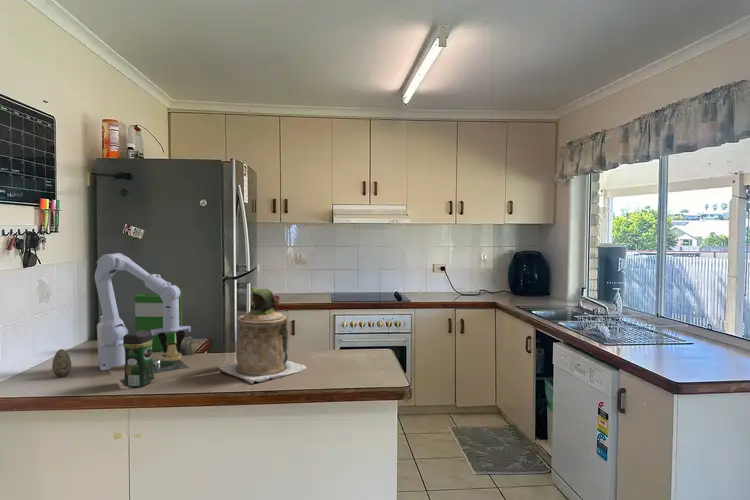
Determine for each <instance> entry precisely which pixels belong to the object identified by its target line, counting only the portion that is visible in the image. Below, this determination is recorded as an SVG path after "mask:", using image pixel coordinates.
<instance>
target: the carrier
mask: <svg viewBox="0 0 750 500" xmlns="http://www.w3.org/2000/svg"><path fill="white" fill-rule="evenodd" d="M152 360H153V370H154V374H158V373H159V374H160V373H166V372H170V371H177V370H184V369H189V368H190V367H189V366H188V365H187V364H186V363H184V362H183V361H181V359H179V360H174V361H163V360H162V359H157V358H156V357H152Z"/></svg>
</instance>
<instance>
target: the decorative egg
mask: <svg viewBox="0 0 750 500" xmlns="http://www.w3.org/2000/svg"><path fill="white" fill-rule="evenodd" d="M51 369H52V372H53V374H54V375H55V376H57V377H59V378H60V377H61V378H62V377H65V376H67V375H69V373H70V372H71V370H72V360H71V358H70V355H69V353H68V352H67V351H66V350H65V349H63V348H61V349H58V351H56V353H55V355H54V357H53V359H52V367H51Z"/></svg>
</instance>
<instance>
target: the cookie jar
mask: <svg viewBox="0 0 750 500" xmlns="http://www.w3.org/2000/svg"><path fill="white" fill-rule="evenodd" d="M251 295H252V297H251V300H252V302H253V305H254V306H253V308H252V309H251V310H249V312H247V313H246V314H243V315H239V316H238V317H237V318H236V322H237V325H238V330H237V338H236V344H235V345H236V349H235V350H236V351H235V352H236V353H235V357H236V361H237V362H233V363H232V362H231V363H225V364H219V365H218V367H217V368H218V369H219V370H220V371H219V373H221V372H223V373H226V374H228V375H231V376H233V377H236V378H239V379H242V380H244V381H246V382H248V383H250V384H254V382H257V383H260V382H261V383H262V382H265V381H267V380H271V379H272V380H273V379H278V378H282V377H286V376H289V375H294V374H297V373H298V374H299V373H302V372H305V371H306V369H307V366H306V365H304V364H300V363H296V362H293V361H291V360H288V359H289V358H288V357H289V356H288V352H287V351H288V340H289V328H288V318H287V317H286V315H285V314H283V313H282V312H280V311H278V308H277V306H276V305H279V303H280V295H279V294H276V293H273V292H272V290H270V289H269V288H258V287H257V286H252V287H251Z"/></svg>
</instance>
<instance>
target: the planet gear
mask: <svg viewBox="0 0 750 500" xmlns="http://www.w3.org/2000/svg"><path fill="white" fill-rule="evenodd" d="M166 349H167V352H166V353H164V354H162V355H160V358H161V359H160V360H161V361H162V360H163V361H174V360H181V359H183V356H182V354H181V353H178V346H177V343H167V344H166Z"/></svg>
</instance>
